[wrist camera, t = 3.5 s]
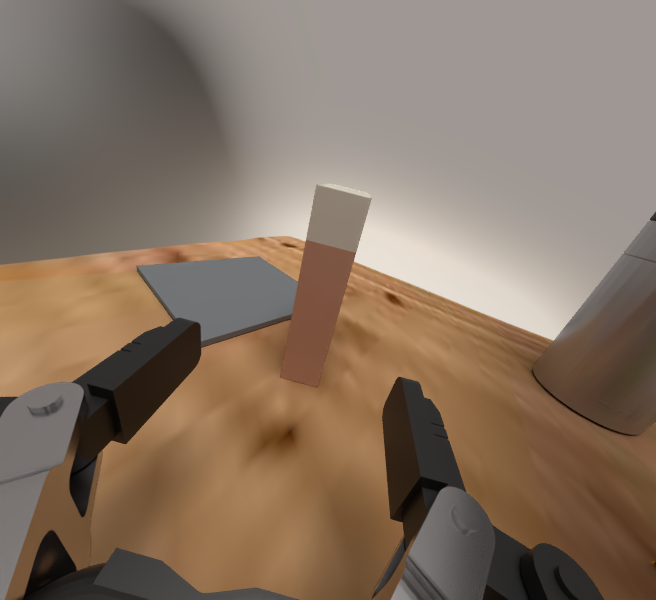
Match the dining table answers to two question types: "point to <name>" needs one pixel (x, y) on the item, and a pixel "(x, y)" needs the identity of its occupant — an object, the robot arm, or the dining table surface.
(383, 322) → the dining table surface
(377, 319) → the dining table surface
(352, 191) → the block
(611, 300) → the robot arm
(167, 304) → the mat
